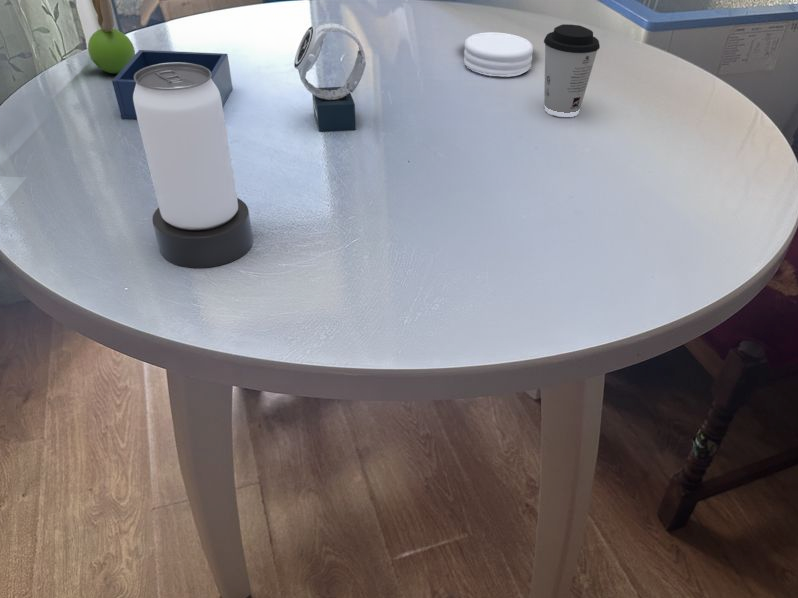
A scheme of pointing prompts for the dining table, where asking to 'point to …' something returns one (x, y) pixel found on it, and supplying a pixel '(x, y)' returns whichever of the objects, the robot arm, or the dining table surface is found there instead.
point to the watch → (329, 102)
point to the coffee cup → (568, 66)
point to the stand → (205, 241)
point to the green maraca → (109, 41)
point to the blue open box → (145, 58)
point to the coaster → (497, 53)
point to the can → (186, 145)
